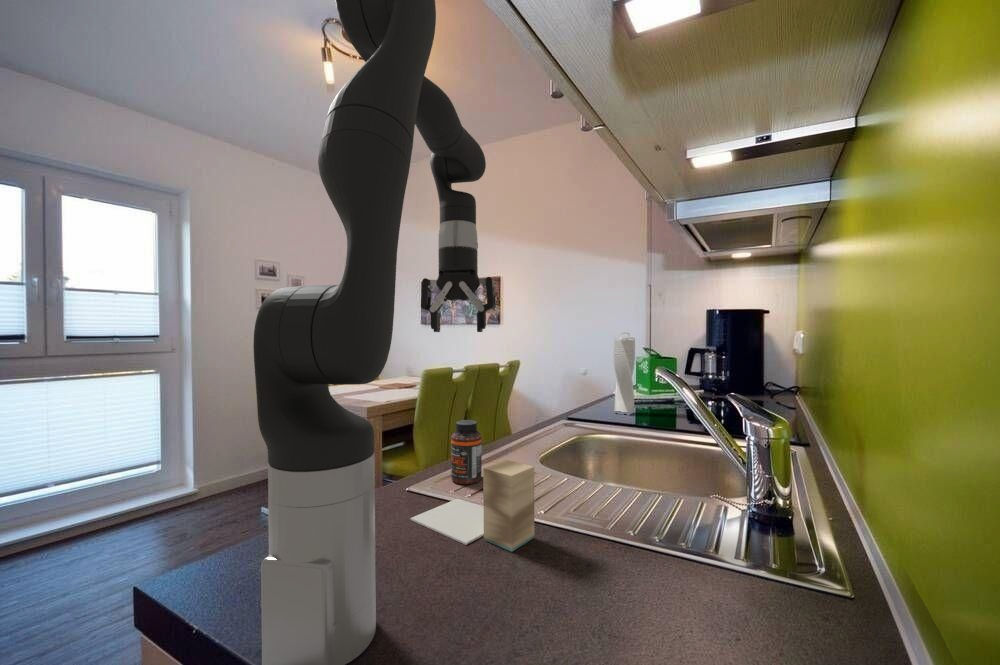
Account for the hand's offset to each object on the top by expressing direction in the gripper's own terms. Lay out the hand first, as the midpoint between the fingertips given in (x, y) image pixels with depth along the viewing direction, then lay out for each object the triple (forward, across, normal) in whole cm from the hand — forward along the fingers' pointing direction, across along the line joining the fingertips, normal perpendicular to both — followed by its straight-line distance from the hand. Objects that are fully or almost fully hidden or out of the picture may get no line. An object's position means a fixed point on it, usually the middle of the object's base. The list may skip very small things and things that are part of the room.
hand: (458, 332), depth 83 cm
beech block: (+29, +12, -22) cm, 38 cm away
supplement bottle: (+29, +1, +1) cm, 29 cm away
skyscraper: (+28, +41, +72) cm, 88 cm away
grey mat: (+29, +4, -17) cm, 34 cm away
